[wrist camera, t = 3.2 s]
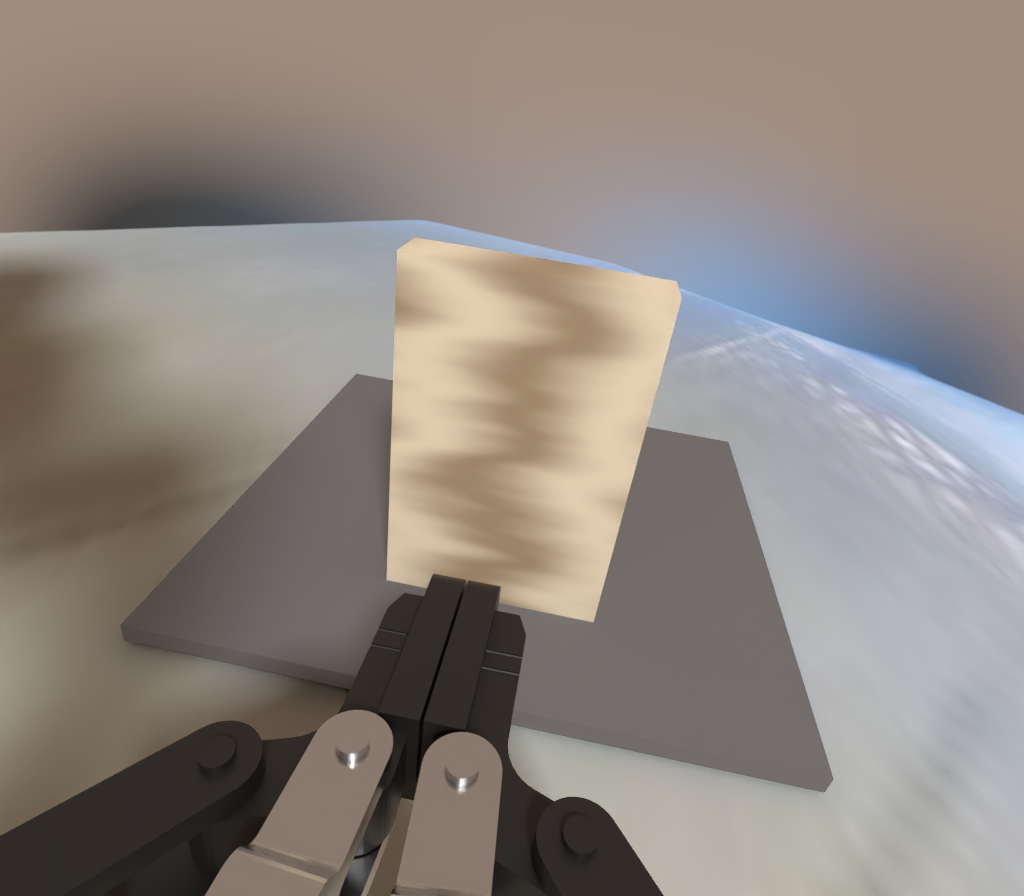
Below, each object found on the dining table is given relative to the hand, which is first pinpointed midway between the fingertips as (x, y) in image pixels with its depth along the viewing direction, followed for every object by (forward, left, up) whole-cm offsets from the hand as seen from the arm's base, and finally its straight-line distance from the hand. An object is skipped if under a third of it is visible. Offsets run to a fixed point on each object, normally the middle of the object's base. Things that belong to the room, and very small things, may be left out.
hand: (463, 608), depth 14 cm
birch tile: (0, +11, -9) cm, 14 cm away
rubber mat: (0, +17, -10) cm, 19 cm away
